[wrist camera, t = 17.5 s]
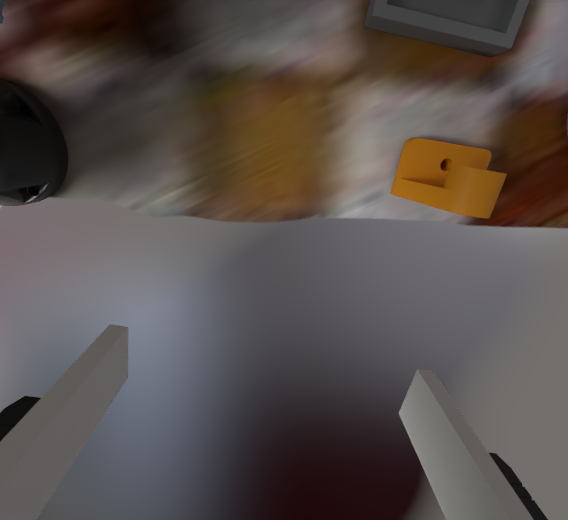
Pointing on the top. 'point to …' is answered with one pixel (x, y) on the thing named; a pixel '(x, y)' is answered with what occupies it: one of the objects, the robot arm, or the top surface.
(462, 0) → the tray
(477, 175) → the bracket
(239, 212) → the top surface
